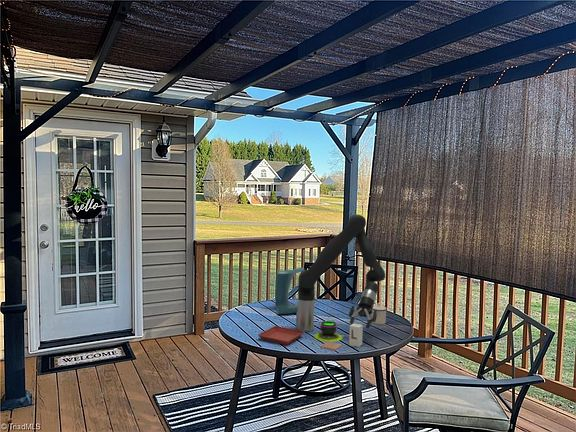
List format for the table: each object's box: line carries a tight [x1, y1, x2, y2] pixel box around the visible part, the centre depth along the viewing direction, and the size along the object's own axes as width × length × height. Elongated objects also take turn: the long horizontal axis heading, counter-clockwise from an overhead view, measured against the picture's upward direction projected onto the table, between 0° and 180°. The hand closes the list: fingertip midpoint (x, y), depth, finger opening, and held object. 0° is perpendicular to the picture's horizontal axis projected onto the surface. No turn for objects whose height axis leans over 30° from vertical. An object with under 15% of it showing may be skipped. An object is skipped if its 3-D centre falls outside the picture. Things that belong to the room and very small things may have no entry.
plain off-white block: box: [348, 322, 364, 348], centre depth 211 cm, size 5×5×10 cm
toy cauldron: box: [313, 316, 343, 343], centre depth 223 cm, size 15×15×11 cm
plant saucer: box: [257, 325, 305, 346], centre depth 218 cm, size 18×18×3 cm
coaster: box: [320, 341, 343, 352], centre depth 208 cm, size 8×8×1 cm
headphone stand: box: [274, 267, 316, 315], centre depth 272 cm, size 26×28×28 cm
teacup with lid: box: [369, 302, 387, 325], centre depth 253 cm, size 12×9×12 cm
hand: (359, 326), depth 215 cm, fingers open, 8 cm apart
